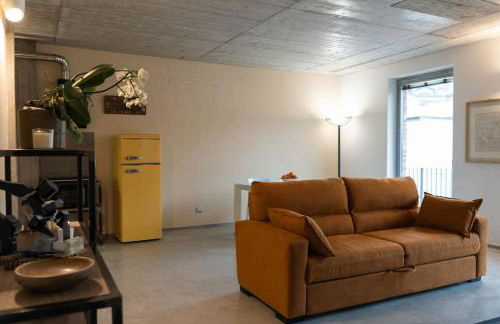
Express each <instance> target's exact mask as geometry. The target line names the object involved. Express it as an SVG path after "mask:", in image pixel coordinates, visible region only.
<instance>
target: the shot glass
mask: <svg viewBox="0 0 500 324" xmlns="http://www.w3.org/2000/svg"><path fill="white" fill-rule="evenodd" d="M74 229H75V228H74V227H71V226H70V239H72V238H74ZM57 235H58V236H57V237H59V240H61V241H63V230H62V229H61V228H60V227H58V229H57Z"/></svg>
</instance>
